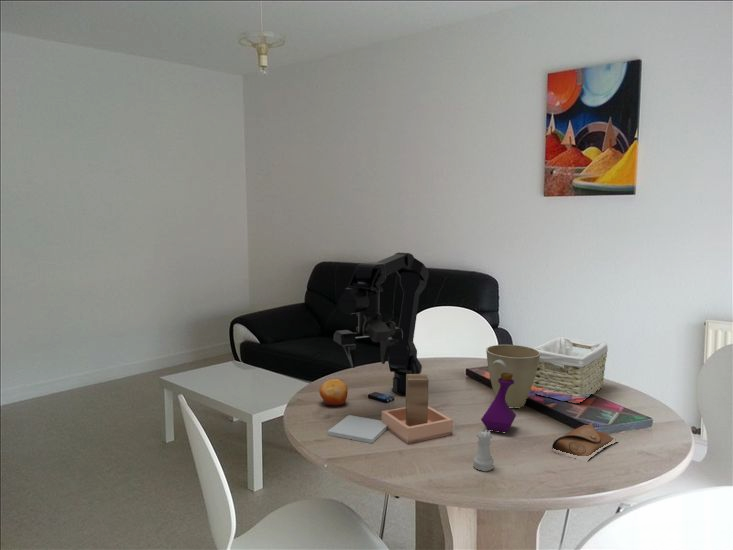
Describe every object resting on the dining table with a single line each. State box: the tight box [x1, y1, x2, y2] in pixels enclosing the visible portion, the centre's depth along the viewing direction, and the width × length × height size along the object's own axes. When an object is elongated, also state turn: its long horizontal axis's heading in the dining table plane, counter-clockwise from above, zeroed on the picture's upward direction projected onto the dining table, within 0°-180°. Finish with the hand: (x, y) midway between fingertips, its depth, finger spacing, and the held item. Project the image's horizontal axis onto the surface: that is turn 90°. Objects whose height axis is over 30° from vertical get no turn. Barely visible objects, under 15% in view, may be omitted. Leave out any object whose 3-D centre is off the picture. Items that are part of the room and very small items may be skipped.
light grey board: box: [327, 414, 388, 444], centre depth 138 cm, size 12×12×1 cm
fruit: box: [318, 378, 348, 406], centre depth 157 cm, size 8×8×8 cm
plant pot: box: [485, 344, 540, 408], centre depth 157 cm, size 15×15×16 cm
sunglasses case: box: [551, 420, 615, 456], centre depth 129 cm, size 18×7×7 cm
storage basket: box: [532, 336, 609, 397], centre depth 169 cm, size 24×16×15 cm
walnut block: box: [405, 373, 429, 427], centre depth 138 cm, size 5×5×13 cm
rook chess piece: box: [472, 429, 495, 472], centre depth 118 cm, size 4×4×8 cm
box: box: [381, 405, 454, 445], centre depth 138 cm, size 13×13×4 cm
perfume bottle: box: [480, 360, 517, 433], centre depth 138 cm, size 8×8×18 cm
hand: (368, 365), depth 150 cm, fingers open, 9 cm apart
